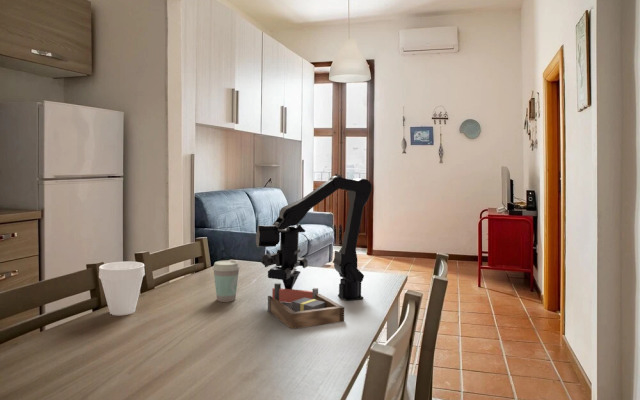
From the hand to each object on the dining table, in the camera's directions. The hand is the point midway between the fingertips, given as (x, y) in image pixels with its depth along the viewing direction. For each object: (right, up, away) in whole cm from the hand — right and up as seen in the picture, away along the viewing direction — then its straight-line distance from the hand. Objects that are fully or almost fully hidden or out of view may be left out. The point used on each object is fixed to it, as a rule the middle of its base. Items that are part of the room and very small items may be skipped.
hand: (287, 294), depth 153 cm
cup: (-47, -3, -14) cm, 49 cm away
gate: (+2, -2, -2) cm, 4 cm away
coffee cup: (-20, -2, +1) cm, 20 cm away
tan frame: (+6, -3, -14) cm, 15 cm away
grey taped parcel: (+7, -3, -12) cm, 14 cm away
